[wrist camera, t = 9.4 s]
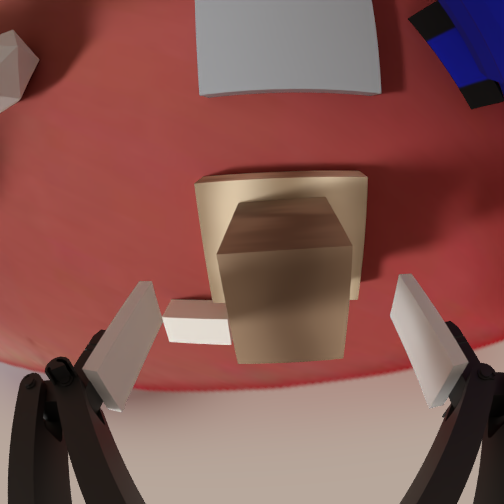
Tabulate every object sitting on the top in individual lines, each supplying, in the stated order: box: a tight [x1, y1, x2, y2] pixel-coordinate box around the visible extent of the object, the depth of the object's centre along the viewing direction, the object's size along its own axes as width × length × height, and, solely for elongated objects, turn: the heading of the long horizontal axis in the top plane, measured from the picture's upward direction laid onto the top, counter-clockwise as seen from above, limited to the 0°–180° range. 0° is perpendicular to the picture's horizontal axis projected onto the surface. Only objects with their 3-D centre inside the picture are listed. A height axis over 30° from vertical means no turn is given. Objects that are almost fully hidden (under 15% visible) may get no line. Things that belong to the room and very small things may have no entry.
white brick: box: [162, 299, 233, 345], centre depth 27 cm, size 6×3×3 cm, turn 94°
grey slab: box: [195, 0, 381, 98], centre depth 16 cm, size 12×10×3 cm
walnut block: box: [216, 197, 353, 364], centre depth 18 cm, size 6×7×8 cm
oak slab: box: [194, 170, 368, 303], centre depth 23 cm, size 12×10×3 cm
